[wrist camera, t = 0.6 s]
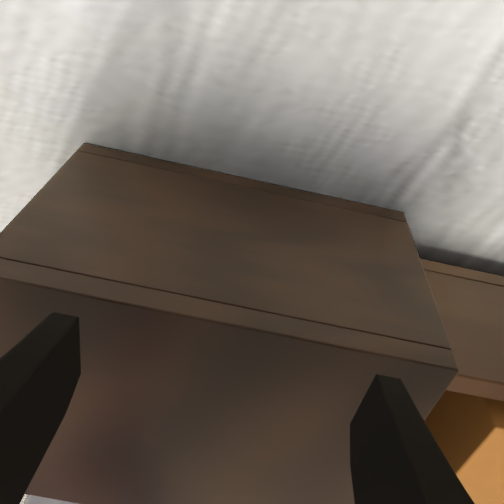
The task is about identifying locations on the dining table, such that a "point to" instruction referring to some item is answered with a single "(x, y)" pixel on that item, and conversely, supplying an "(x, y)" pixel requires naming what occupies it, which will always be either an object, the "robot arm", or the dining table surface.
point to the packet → (472, 442)
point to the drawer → (471, 326)
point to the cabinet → (215, 330)
